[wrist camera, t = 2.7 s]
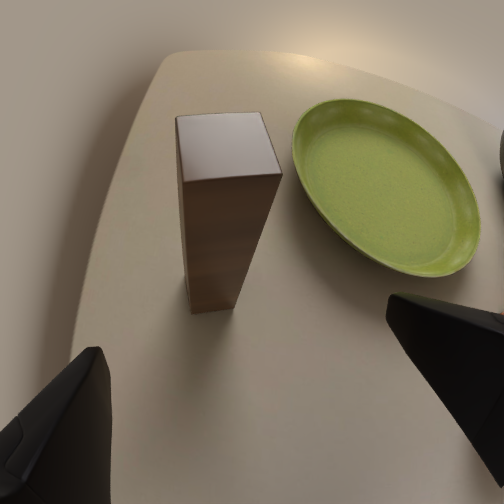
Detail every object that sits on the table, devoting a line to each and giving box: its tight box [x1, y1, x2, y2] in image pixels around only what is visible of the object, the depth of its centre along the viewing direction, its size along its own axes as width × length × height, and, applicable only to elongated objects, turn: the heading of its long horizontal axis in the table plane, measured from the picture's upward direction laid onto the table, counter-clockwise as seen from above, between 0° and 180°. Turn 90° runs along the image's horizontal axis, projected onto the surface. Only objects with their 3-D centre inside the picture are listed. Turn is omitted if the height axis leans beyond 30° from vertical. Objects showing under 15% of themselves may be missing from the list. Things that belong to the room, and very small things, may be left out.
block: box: [175, 112, 283, 314], centre depth 16 cm, size 3×3×14 cm
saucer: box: [292, 99, 481, 278], centre depth 28 cm, size 21×21×3 cm
